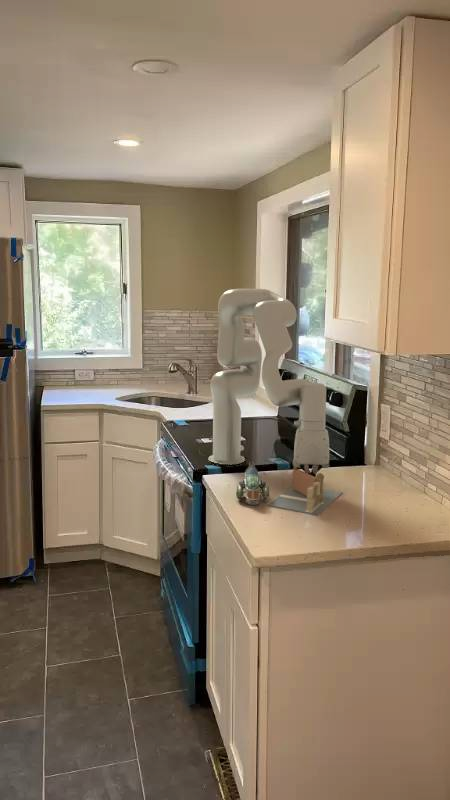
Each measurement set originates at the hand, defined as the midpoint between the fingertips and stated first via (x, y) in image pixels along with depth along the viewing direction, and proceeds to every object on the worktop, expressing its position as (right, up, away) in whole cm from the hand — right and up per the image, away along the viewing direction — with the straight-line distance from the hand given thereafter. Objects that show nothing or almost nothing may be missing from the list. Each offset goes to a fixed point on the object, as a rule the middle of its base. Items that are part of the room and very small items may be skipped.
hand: (310, 485), depth 191 cm
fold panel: (-2, -2, -3) cm, 4 cm away
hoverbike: (-17, -2, 0) cm, 18 cm away
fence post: (0, -5, -12) cm, 13 cm away
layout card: (-2, -3, -6) cm, 7 cm away
